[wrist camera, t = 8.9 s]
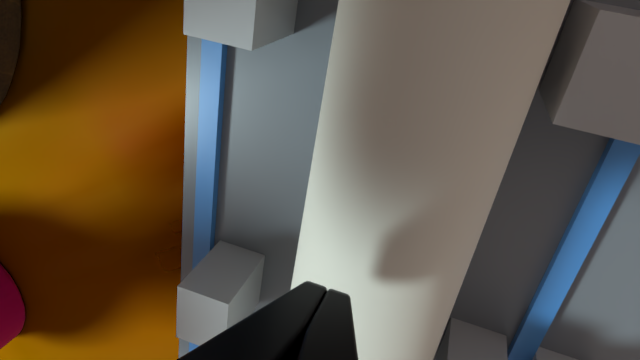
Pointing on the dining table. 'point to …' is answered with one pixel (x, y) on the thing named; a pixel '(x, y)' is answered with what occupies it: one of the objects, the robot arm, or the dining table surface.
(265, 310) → the robot arm
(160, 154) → the dining table surface
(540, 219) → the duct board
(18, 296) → the pepper mill
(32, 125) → the dining table surface
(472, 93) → the white cylinder
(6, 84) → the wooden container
